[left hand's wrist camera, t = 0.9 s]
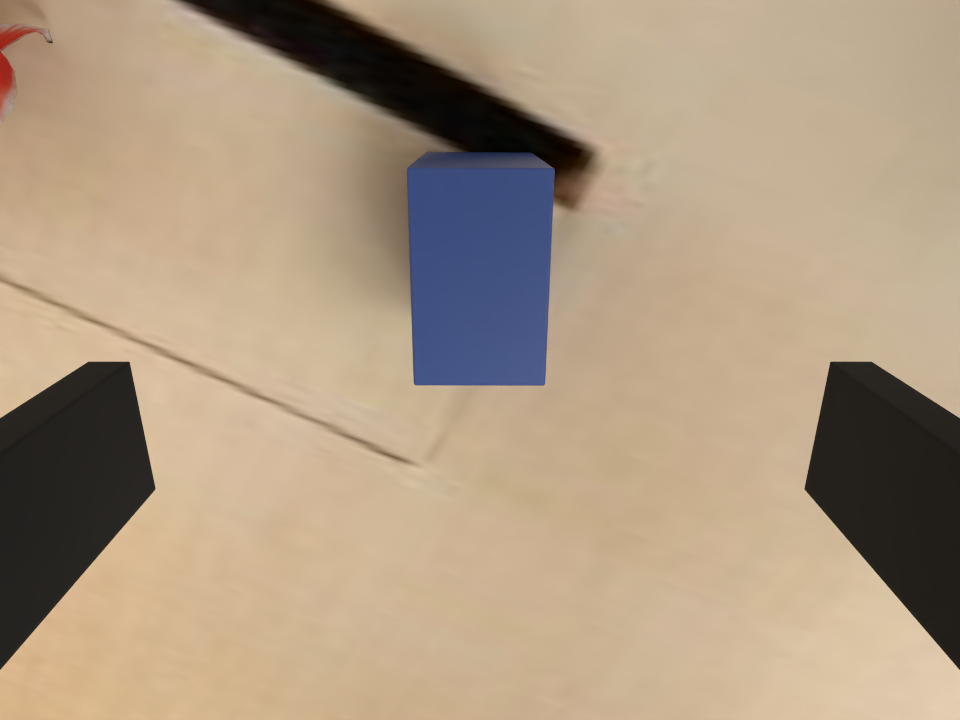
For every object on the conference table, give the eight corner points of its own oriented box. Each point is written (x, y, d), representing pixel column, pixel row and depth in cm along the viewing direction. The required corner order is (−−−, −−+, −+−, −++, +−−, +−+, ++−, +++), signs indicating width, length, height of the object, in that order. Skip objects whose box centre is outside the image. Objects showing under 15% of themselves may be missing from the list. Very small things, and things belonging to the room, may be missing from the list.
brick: (429, 315, 28) (413, 386, 21) (425, 151, 25) (406, 167, 18) (526, 315, 28) (545, 386, 21) (532, 152, 25) (554, 168, 18)
